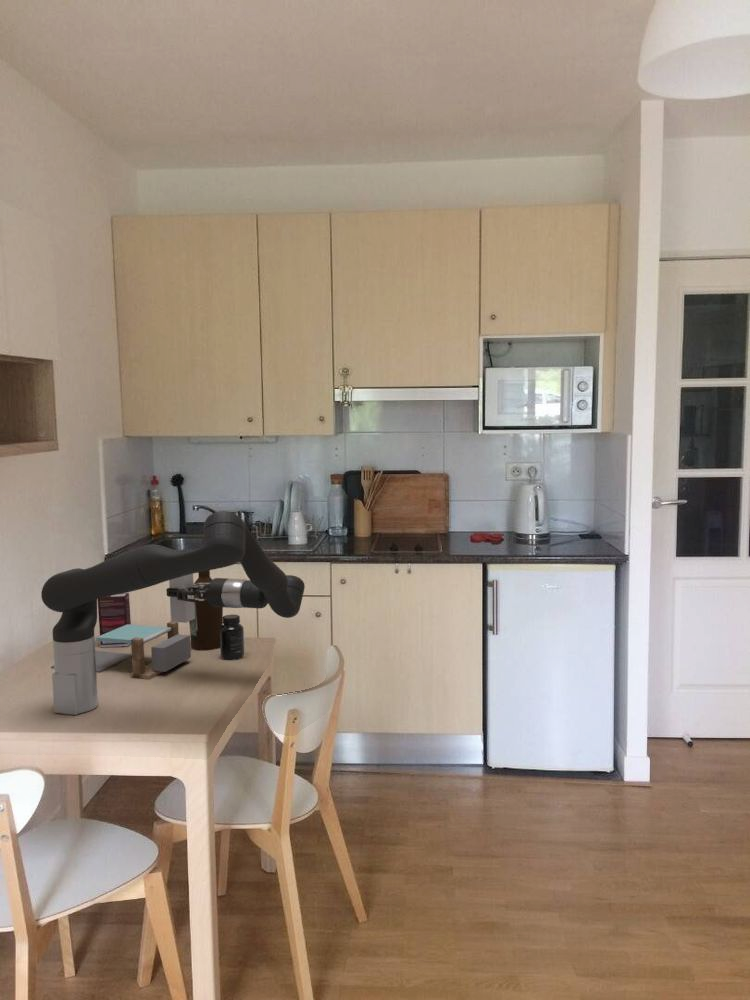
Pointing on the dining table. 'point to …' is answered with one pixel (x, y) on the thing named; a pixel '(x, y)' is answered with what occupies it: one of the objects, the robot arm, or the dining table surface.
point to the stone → (179, 608)
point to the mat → (107, 659)
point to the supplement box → (113, 615)
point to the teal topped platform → (162, 653)
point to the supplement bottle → (231, 638)
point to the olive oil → (205, 621)
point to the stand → (138, 655)
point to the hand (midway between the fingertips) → (172, 590)
